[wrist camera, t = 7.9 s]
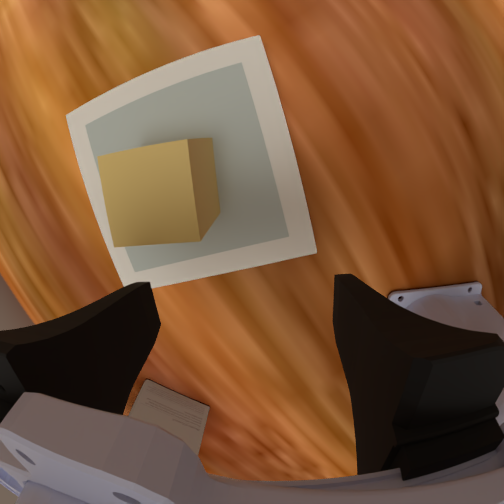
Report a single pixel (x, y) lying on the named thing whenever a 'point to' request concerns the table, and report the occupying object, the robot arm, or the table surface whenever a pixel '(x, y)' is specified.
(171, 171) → the block
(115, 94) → the base
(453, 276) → the table surface
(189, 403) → the supplement box
